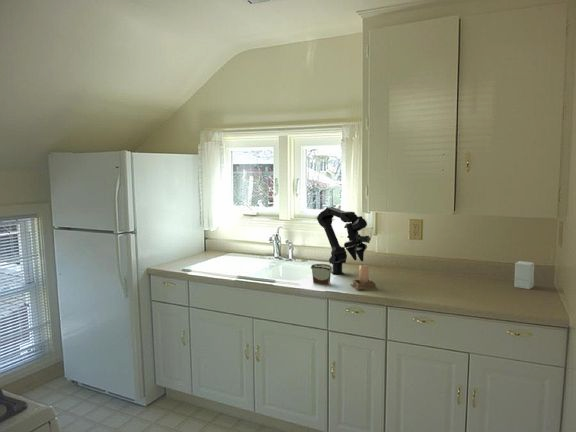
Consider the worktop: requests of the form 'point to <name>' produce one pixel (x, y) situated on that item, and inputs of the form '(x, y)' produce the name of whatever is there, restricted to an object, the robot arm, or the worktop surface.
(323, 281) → the food container
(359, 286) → the walnut holder
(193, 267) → the worktop surface
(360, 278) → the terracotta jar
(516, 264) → the supplement box
